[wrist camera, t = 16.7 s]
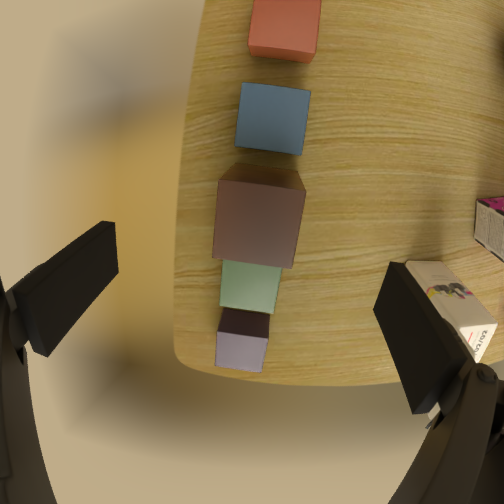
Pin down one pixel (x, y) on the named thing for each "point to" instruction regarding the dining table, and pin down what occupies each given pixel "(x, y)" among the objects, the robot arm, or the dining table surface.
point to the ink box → (455, 307)
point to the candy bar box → (490, 225)
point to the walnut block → (258, 215)
